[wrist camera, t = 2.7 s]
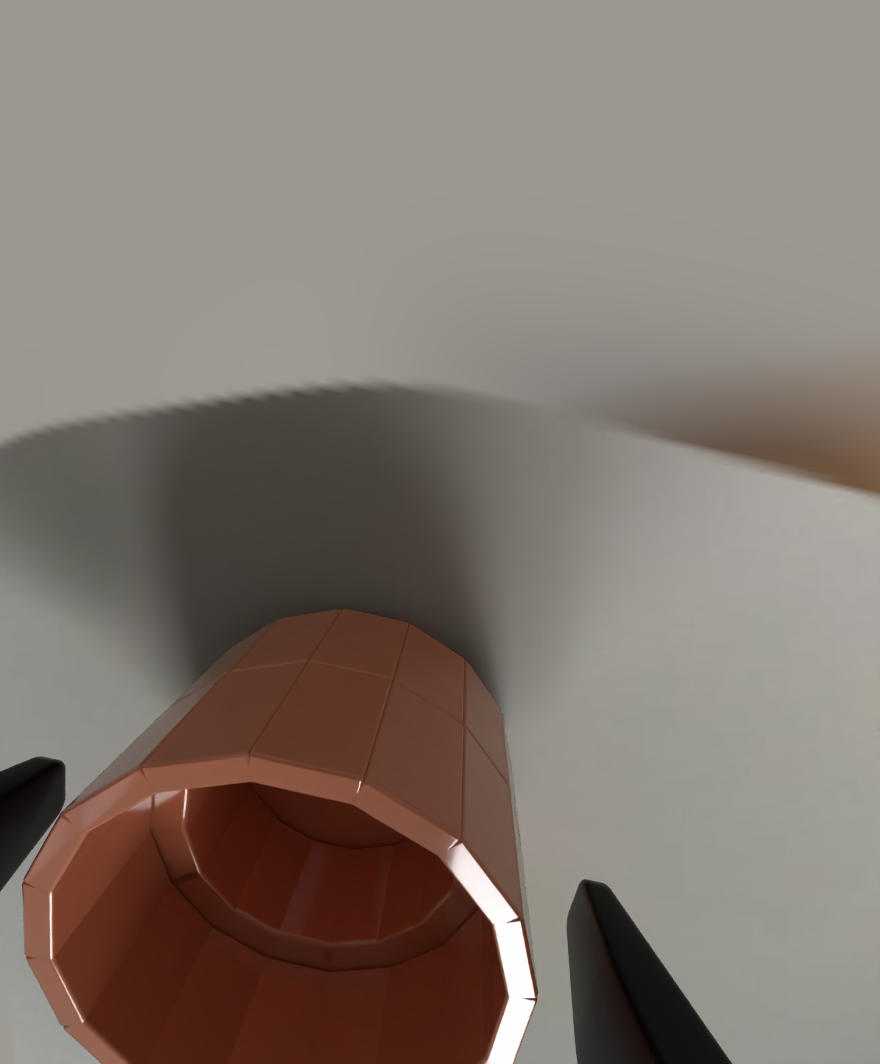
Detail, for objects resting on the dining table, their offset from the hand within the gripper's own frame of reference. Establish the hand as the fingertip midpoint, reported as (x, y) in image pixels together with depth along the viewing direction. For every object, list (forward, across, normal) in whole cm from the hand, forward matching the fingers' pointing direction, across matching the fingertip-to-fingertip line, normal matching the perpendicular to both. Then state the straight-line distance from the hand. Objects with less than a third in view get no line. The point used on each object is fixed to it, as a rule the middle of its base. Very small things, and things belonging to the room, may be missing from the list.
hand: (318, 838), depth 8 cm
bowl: (+2, 0, 0) cm, 2 cm away
